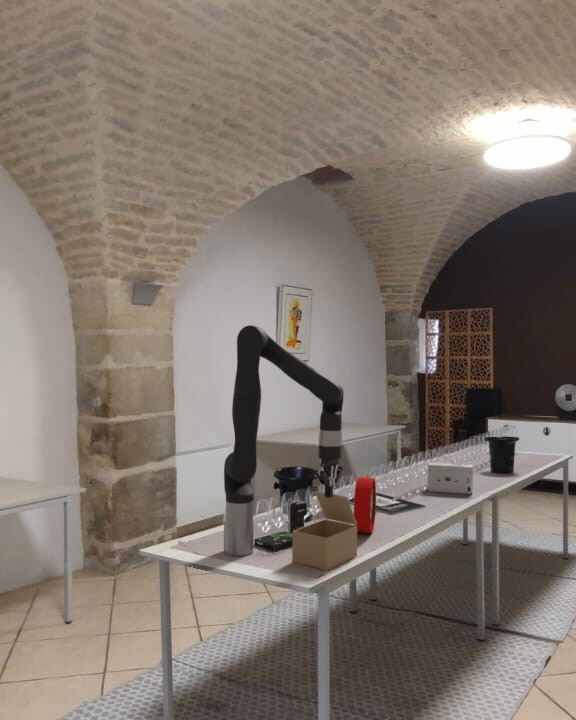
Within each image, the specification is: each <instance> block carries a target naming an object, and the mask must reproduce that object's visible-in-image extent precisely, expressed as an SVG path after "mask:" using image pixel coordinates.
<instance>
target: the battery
mask: <svg viewBox="0 0 576 720" xmlns="http://www.w3.org/2000/svg"><path fill="white" fill-rule="evenodd" d="M287 513H288V514H287V515H288V516H287V518H288V519H287V520H288V522H287V523H288V528H287V529H288V531H287V532H288V533H292V534H293V531H294V530H297V529H299V528H302V527H305V523H304V522H305V516H308V505H307V502H306V501H303V500H300V499H299V500H298V499H297V500H293V501H290V502H289V504H288V509H287Z"/></svg>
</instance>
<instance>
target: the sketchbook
mask: <svg viewBox="0 0 576 720" xmlns="http://www.w3.org/2000/svg"><path fill="white" fill-rule="evenodd" d="M393 498H394V496H392V495H391V496H390V495H386V494H383V493H380V492H376V511H375V512H378V513H379V512H380V513H384V514H387V515H391V516H394V515H398V514H402V513H403V514H404V513H406V512H411V511H416V510H419V509H424V508H426V507H427V506H426V505H424V504H420V503H418V502H417V503H416V502H413V501H411V500H410V501H409V500H406V499H402V498H399V499H397V500H393V501H392V499H393ZM349 503H350V505H354V498H352V499H350V500H349ZM377 505H378V506H377Z"/></svg>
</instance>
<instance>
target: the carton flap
mask: <svg viewBox="0 0 576 720" xmlns="http://www.w3.org/2000/svg"><path fill="white" fill-rule="evenodd" d="M314 493H315V497H316V499H317V500H318V503H319V506H320V508H321V510H322V513H323V515H324V519H325V520H330V521H335V522H340V523H345V524H350V525H354V524H355V525H357V522H356V519H355V517H354V510H353V509H352V506H351V504H350V503H349V500H348V498H347V497H348V496H346V495H340V494H334V493H333V497H331V498H327V497H325V492H323V491H314Z"/></svg>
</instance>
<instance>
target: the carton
mask: <svg viewBox="0 0 576 720" xmlns="http://www.w3.org/2000/svg"><path fill="white" fill-rule="evenodd" d="M292 534H293V542H292V551H291V553H292V555H291V556H292V557H291V560H292V561H291V562H292V563H294V564H297V565H301V566H305V567H309V568H314V569H317V570H321V571H324V570H326V571H325V572H327V571H329V570H331V569H333V568H332V567H334V566H336V567H337V565H338V564H340V563H342V562H344V563H345V561H346V562H348V561H350V560H352V559H354V558H356V557H358V532H357V526H355V525H354V524H350V523H345V522H341V521H336V520H331V519H326V518H323V519H321V520H318V521H316V522H313V523H310V524H308V525H304V527H302V528H299V529H297V530H294V531H293V533H292ZM355 556H356V557H355ZM353 557H354V558H353ZM351 558H352V559H351ZM349 559H350V560H349ZM347 560H348V561H347ZM342 564H343V563H342ZM340 565H341V564H340ZM338 566H339V565H338ZM334 568H335V567H334ZM328 569H329V570H328Z"/></svg>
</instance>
